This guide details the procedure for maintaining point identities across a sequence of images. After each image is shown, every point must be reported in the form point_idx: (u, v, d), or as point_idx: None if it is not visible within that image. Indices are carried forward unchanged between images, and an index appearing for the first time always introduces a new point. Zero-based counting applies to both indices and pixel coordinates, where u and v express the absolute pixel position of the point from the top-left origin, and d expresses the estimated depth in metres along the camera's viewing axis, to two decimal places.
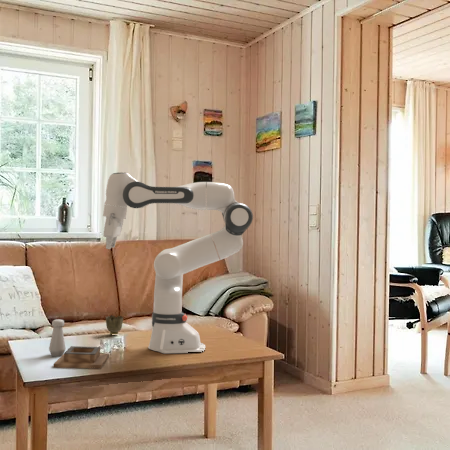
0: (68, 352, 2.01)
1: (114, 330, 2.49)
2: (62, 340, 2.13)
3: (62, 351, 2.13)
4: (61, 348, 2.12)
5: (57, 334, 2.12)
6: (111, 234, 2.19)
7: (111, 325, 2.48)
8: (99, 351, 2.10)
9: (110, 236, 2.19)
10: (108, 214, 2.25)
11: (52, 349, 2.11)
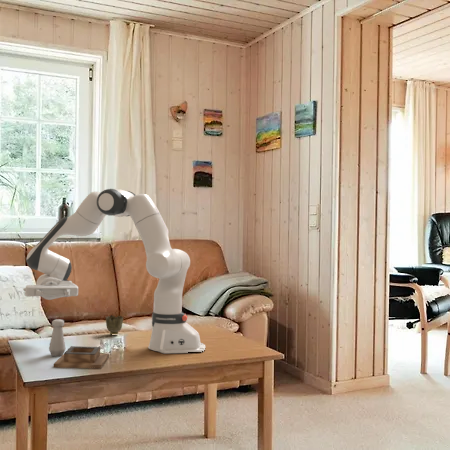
0: (68, 352, 2.01)
1: (114, 330, 2.49)
2: (62, 340, 2.13)
3: (62, 351, 2.13)
4: (61, 348, 2.12)
5: (56, 334, 2.12)
6: (25, 288, 2.26)
7: (111, 325, 2.48)
8: (99, 351, 2.10)
9: (26, 289, 2.26)
10: None
11: (52, 349, 2.11)
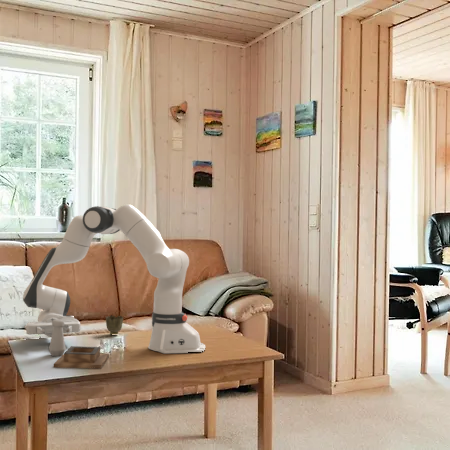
0: (68, 352, 2.01)
1: (114, 330, 2.49)
2: (62, 340, 2.13)
3: (62, 351, 2.13)
4: (61, 348, 2.12)
5: (57, 334, 2.12)
6: (26, 326, 2.22)
7: (111, 325, 2.48)
8: (99, 351, 2.10)
9: (27, 327, 2.21)
10: None
11: (52, 349, 2.11)
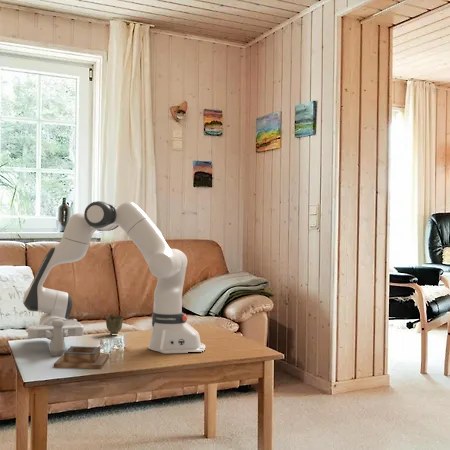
0: (68, 352, 2.01)
1: (114, 330, 2.49)
2: (62, 340, 2.13)
3: (62, 351, 2.13)
4: (61, 348, 2.12)
5: (56, 334, 2.12)
6: (28, 329, 2.15)
7: (111, 325, 2.48)
8: (99, 351, 2.10)
9: (29, 331, 2.14)
10: None
11: (52, 349, 2.11)
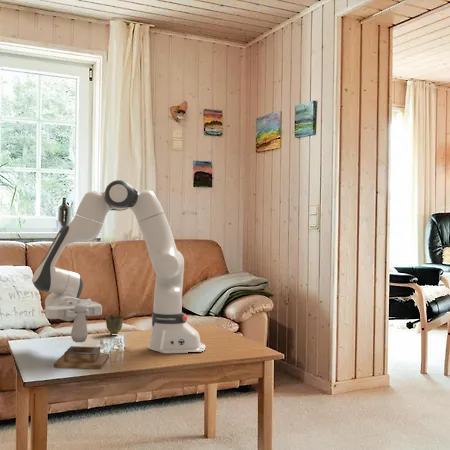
0: (68, 352, 2.01)
1: (114, 330, 2.49)
2: (85, 325, 2.06)
3: (86, 336, 2.06)
4: (85, 333, 2.05)
5: (80, 319, 2.04)
6: (47, 310, 2.05)
7: (111, 325, 2.48)
8: (99, 351, 2.10)
9: (49, 311, 2.04)
10: None
11: (76, 335, 2.04)
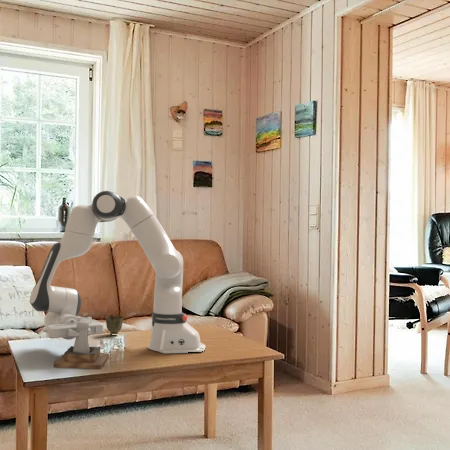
0: (68, 352, 2.01)
1: (114, 330, 2.49)
2: (87, 342, 2.05)
3: None
4: (87, 350, 2.04)
5: (82, 336, 2.04)
6: (49, 329, 2.03)
7: (111, 325, 2.48)
8: (99, 351, 2.10)
9: (51, 330, 2.03)
10: None
11: None
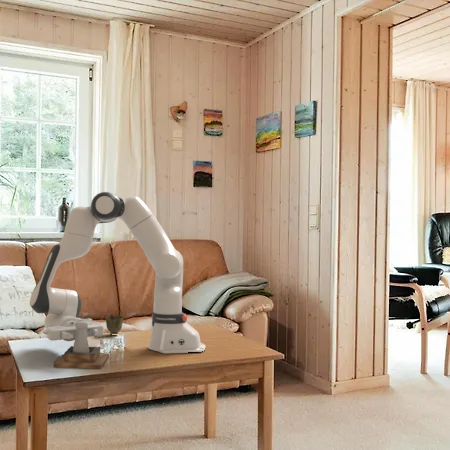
0: (68, 352, 2.01)
1: (114, 330, 2.49)
2: (87, 342, 2.05)
3: None
4: (86, 350, 2.04)
5: (81, 336, 2.04)
6: (50, 331, 2.03)
7: (111, 325, 2.48)
8: (99, 351, 2.10)
9: (51, 332, 2.03)
10: None
11: None
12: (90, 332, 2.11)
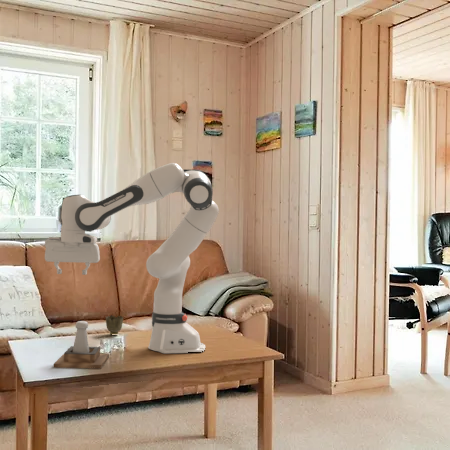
0: (68, 352, 2.01)
1: (114, 330, 2.49)
2: (87, 342, 2.05)
3: None
4: (86, 350, 2.04)
5: (82, 336, 2.04)
6: None
7: (111, 325, 2.48)
8: (99, 351, 2.10)
9: None
10: None
11: None
12: None
